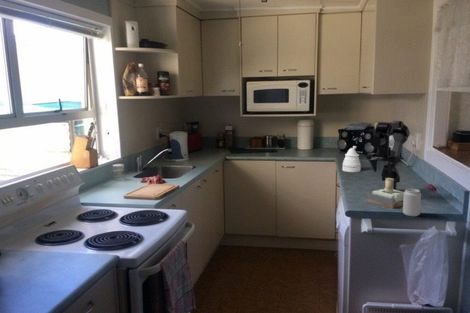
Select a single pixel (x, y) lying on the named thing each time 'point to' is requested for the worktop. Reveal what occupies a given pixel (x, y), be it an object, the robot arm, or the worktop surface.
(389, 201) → the board
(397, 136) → the robot arm
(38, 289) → the worktop surface
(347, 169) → the honey pot
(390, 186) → the dowel
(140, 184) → the worktop surface
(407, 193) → the can
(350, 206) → the worktop surface
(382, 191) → the block
